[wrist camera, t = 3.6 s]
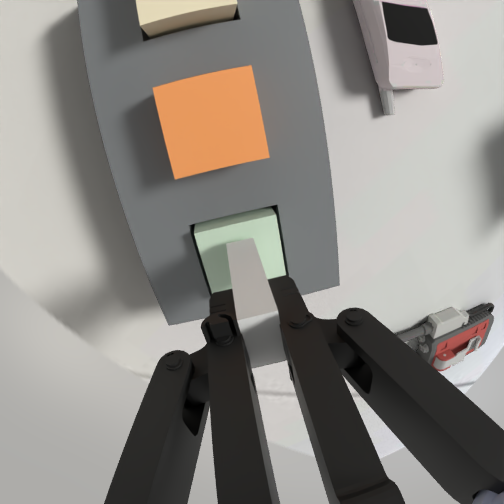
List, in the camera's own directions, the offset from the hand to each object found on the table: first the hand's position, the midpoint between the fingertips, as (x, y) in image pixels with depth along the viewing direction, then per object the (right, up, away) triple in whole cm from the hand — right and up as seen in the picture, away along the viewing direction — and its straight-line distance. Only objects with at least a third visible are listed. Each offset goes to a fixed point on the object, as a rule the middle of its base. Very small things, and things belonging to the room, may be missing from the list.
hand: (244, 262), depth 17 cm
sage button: (-1, +2, +5) cm, 5 cm away
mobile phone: (+9, +22, -3) cm, 24 cm away
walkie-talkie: (+23, -10, +15) cm, 29 cm away
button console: (-2, +9, +1) cm, 9 cm away
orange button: (-2, +8, 0) cm, 9 cm away
